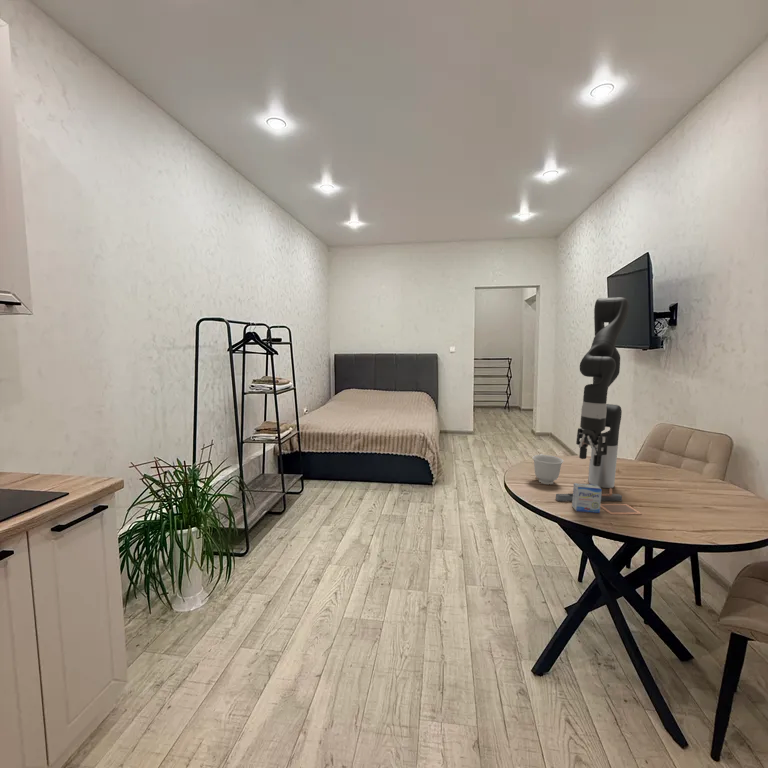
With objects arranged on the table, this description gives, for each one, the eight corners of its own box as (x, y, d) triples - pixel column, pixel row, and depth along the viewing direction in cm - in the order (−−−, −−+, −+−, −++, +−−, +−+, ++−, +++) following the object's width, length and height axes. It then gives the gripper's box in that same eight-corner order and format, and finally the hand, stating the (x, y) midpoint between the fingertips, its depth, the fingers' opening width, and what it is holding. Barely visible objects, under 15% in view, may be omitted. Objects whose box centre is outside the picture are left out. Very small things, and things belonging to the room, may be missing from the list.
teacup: (552, 475, 179) (554, 453, 178) (566, 487, 164) (568, 463, 163) (524, 474, 179) (525, 452, 178) (536, 486, 164) (538, 462, 163)
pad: (597, 505, 147) (597, 503, 147) (626, 504, 148) (626, 503, 148) (610, 514, 139) (610, 513, 139) (641, 514, 140) (641, 513, 140)
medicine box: (575, 511, 141) (577, 487, 140) (571, 506, 145) (573, 482, 145) (600, 513, 140) (602, 488, 139) (595, 508, 144) (597, 484, 143)
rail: (555, 499, 152) (556, 487, 151) (618, 499, 153) (619, 487, 153) (558, 501, 150) (559, 489, 149) (621, 501, 151) (622, 489, 151)
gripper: (571, 411, 146) (568, 456, 148) (594, 419, 132) (590, 468, 134) (592, 411, 147) (588, 456, 148) (617, 419, 132) (613, 468, 134)
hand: (589, 462), depth 141 cm, fingers open, 8 cm apart
